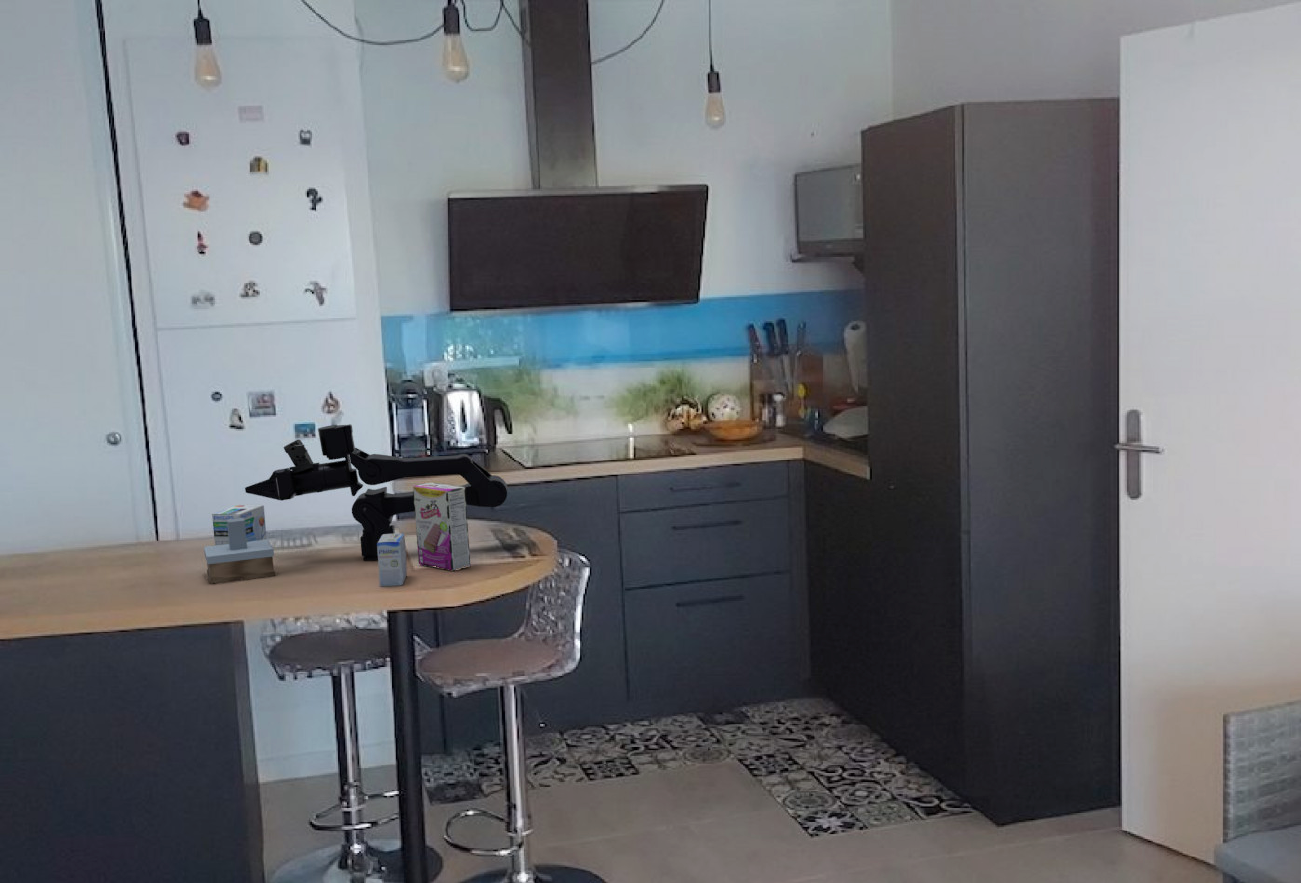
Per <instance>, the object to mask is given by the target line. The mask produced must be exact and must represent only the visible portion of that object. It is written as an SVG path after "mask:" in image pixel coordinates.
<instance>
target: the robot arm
mask: <svg viewBox="0 0 1301 883" xmlns="http://www.w3.org/2000/svg"><path fill="white" fill-rule="evenodd" d="M317 431H318V437H319V442H320V448H321V453H322V454H321V455H322V456H324V457H326V458H327V459H328V461H331V462H325V463H324V462H323V463H320V462H315V463H314V461H313V460H312V458H311V455H310V454H309V452H308V449H306V447H305V446H306V445H305V444H304V443H303V442H302V440H301V439H296V440H293V441H292V442H290V443H288V444H286V445H284V446H283V449H284V452H285V453H286V454H288V457H289V458H290V461H291V462H292V464H293V465H294V466H290V467H287V468H282V469H281V468H280V469H276V470H274V471H273V472H272V474H271V475H270V476H269V478H268V479H266V480H262V481H259V482H257V483H254V484H251V485H248V486H246V487H244V491H245V493H246V494H249V495H250V494H251V495H254V496H260V497H263V498H268V499H271V500H272V499H273V500H277V501H286V500H292V499H293V498H294V497H298V496H299V497H300V496H303V495H309V494H317V493H323V492H328V491H334V490H340V489H346V488H349V489H350V494H351V497H355V496H356V494H357V493H358V492H359V491H360V490H361V489H362V488H363V486H364V484H366V485H368V486H376V485H382V484H385V483H386V484H387V483H389V482H392V481H395V480H396V481H397V480H399V479H404V478H415V477H416V478H419V477H434V476H435V477H436V476H453V475H459V476H461V477H462V478H463V479H464V480H465V481H466V482H467V483H466V484H462V485H459V487H464V488H465V495H466V506H471V507H472V506H473V507H481V508H497V507H500V506H502V505H503V504H504V503H505V501H506V500H507V498H508V486H507V483H506V481H505V480H504V479H503V478H502V477H501V476H499V475H495V474H494V475H493V474H491V473H490V472H488V470H486V469H485V468H484V467H482V466H481V465H480V464H478V463H477V462H476V461H475V460H474V459H472V457H471V456H470V455H469V454H467V453H460V454H457V455H441V456H440V455H439V456H423V457H421V456H420V457H406V458H405V457H399V456H394V455H393V456H392V455H387V454H386V455H385V454H379V453H378V454H377V453H373V454H369V453H367V452H365V451H364V450H362V449H359V448H357V447H356V446H355V441H354V436H353V425H352V424H350V423H349V424H332V425H325V426H322V427H318V428H317ZM339 459H343V460H339ZM332 460H333V461H332ZM335 460H336V461H335ZM352 466H353V468H352ZM358 477H359V478H358ZM359 479H360V480H361V481H362V482H363V483H364V484H363V483H362V482H359ZM413 512H414V513H415V507H414V495H413V491H412V492H405V493H397V494H396V493H388V487H387V486H384V487H383V486H382V487H379V488H377V489H376V488H375V489H371V488H367V489H366V491H365V492H363V493H361V494H360V495H358V496H357V498H356V499H355V501H354V503H353V504H352V507H351V514H352V518H354V520H355V521H357V522H358V523H359V524H361V526H362V528H363V529H362V534H361V536H360V538H359V540H360V550H361V557H363V561H373V560H375V561H376V560H377V561H378V551H377V543H378V541H379V540H380V538H381V536H382V535H383V534H396V532H395V531H396V529H395V525H394V524H392V521H393V518H394V516H396V515H398V514H405V513H413Z"/></svg>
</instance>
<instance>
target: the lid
mask: <svg viewBox="0 0 1301 883" xmlns="http://www.w3.org/2000/svg"><path fill="white" fill-rule="evenodd" d="M227 527H228V538H229V544H225V545H216V546H215V545H210V546H203V552H204V557H205V560H206V565H207V564H215V563H223V562H231V561H239V560H247V559H256V558H264V557H275V553H274V552H275V551H274V548H273V546H272V544H271V542H270V540H269V539H268V538H267V540H259V541H250V542H247V540H246V529H245V520H244V518H238V519H229V520H227Z"/></svg>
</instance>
